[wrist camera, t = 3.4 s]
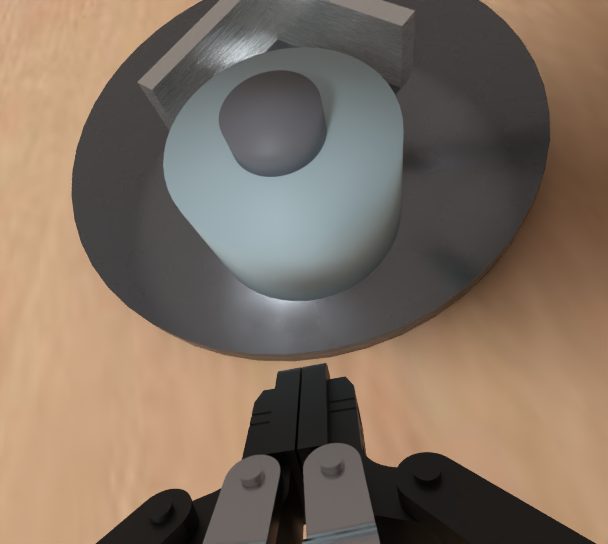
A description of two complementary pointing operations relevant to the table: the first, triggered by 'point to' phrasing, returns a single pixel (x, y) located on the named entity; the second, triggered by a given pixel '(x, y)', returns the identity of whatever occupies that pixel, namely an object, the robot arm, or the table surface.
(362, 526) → the robot arm
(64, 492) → the table surface
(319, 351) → the turntable
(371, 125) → the cover
